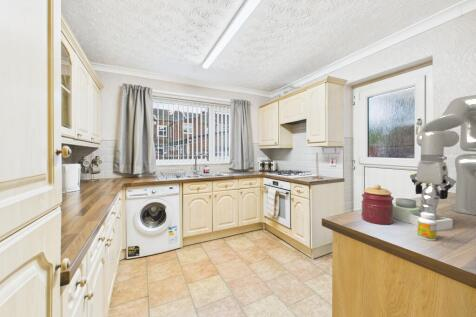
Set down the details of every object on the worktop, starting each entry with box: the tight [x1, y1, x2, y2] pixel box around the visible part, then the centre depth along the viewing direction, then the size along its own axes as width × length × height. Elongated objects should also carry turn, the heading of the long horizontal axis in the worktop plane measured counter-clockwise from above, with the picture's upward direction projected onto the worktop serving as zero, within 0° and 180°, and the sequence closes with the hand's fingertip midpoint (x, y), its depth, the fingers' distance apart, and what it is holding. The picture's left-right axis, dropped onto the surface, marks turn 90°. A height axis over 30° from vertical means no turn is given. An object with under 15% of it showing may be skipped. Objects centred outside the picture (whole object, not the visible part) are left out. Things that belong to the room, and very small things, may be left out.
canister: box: [360, 184, 394, 226], centre depth 101 cm, size 13×13×18 cm
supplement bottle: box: [417, 212, 437, 242], centre depth 81 cm, size 5×5×10 cm
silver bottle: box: [417, 183, 441, 221], centre depth 95 cm, size 6×7×20 cm
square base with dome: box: [392, 197, 454, 232], centre depth 100 cm, size 12×22×9 cm, turn 15°
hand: (430, 196), depth 94 cm, fingers open, 9 cm apart
